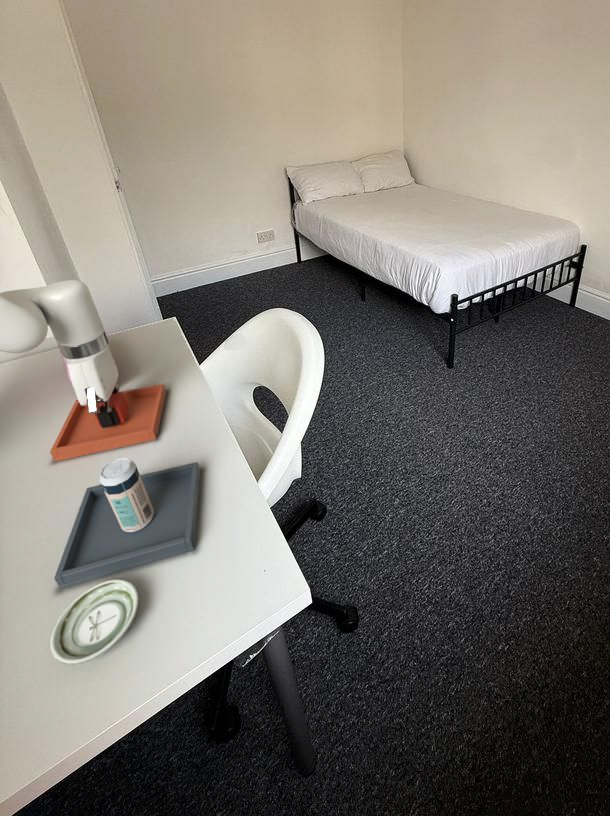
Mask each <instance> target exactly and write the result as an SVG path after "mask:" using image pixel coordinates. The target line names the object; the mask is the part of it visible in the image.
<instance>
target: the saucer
mask: <svg viewBox="0 0 610 816" xmlns="http://www.w3.org/2000/svg"><path fill="white" fill-rule="evenodd" d="M139 597H140V596H139V592H138V590H137V588H136V586H135V585H134V584H133V583H132V582H130V581H128V580H125V579H121V578H120V579H119V578H117V579H116V578H115V579H108V580H105V581H102V582H99V583H97V584H95V585H93V586H91V587H89V588H87V589H86V590H85V591H83V592H82V593H81V594H79V595H78V596H76V597H75V598H74V599H73V600H72V601H71V603H69V604H68V605H67V606H66V608H65V609H64V610H63V611H62V613H61V614H60V616H59V617H58V619H57V621H56V623H55V624H54V627H53V629H52V632H51V635H50V641H49V645H50V646H49V647H50V652H51V654H52V656H53V657H54V659H55V660H56V661H58V662H59V663H61V664H64V665H71V666H72V665H73V666H74V665H80V664H81V665H82V664H84V663H88V662H90V661H93V660H95V659H97V658H99V657H100V656H102V655H103V654H105V653H106V652H108V651H110V649H112V647H114V646H115V645H116V644H117V643H118V642H119V641H120V640H121V639H122V637H124V636H125V635H126V633H127V631H128V630H129V628H130V627H131V625H132V623H133V622H134V620H135V617H136V615H137V612H138V609H139V602H140V598H139Z"/></svg>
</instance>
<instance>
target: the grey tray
mask: <svg viewBox="0 0 610 816" xmlns="http://www.w3.org/2000/svg"><path fill="white" fill-rule="evenodd" d="M140 477H141V479H142V482H143V484H144V487H145V489H146V492H147V494H148V497H149V499H150V502H151V504H152V507H153V509H154V515H153V517H152V519H151V521H150V522H149V523H148V524H147V525H146V526H145V527H143V528H142V529H140V530H137V531H134V532H126V531H124V530H123V529H122V528H121V526H120V524H119V522H118V520H117V518H116V516H115V513H114V511H113V509H112V507H111V505H110V503H109V500H108V498H107V496H106V494H105V492H104V490H103V488H102V485H101V484H98V485H94V486H89V487H87V488H86V489H85V493H84V495H83V497H82V501H81V503H80V506H79V509H78V511H77V513H76V517H75V520H74V523H73V525H72V528H71V531H70V534H69V537H68V539H67V543H66V545H65V547H64V550H63V553H62V556H61V558H60V561H59V564H58V567H57V569H56V571H55V575H54V577H53V579H54V581H55V582H56V584H57V586H58V587H59V589H60V590H62V589H65V588H71V587H73V586H76V585H80V584H82V583H86V582H90V581H94V580H97V579H100V578H104V577H106V576H110V575H114V574H118V573H121V572H125V571H128V570H131V569H135V568H138V567H141V566H145V565H148V564H152V563H155V562H159V561H162V560H165V559H169V558H173V557H177V556H180V555H183V554H186V553H189V552H193V551H195V544H196V543H195V541H196V531H197V517H198V506H199V494H200V493H199V492H200V480H201V469H200V466H199V463H198V461H195V462H190V463H187V464H182V465H178V466H174V467H170V468H165V469H161V470H157V471H153V472H149V473H143V474H140Z"/></svg>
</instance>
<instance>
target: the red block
mask: <svg viewBox="0 0 610 816" xmlns="http://www.w3.org/2000/svg"><path fill="white" fill-rule="evenodd" d="M120 392H121V393H116V394H111V396H110V398H109V399H110V403H111V407H112V409H113V408H114V409H115V411H116V414H117V416H118V419H119V421H120V423H123V422H125V418H126V415H127V412H128V409H129V408H128V405H127V402H126V400H125V397H124V395H123V392H122V391H120ZM98 398H100V397H98ZM98 404H99V406H106V405H105V402H100V403H98ZM94 415H95V414H94ZM95 417H96V419H97V422H98V424H99V426H100V427H101V425H100V422H99V420H98V418H97V415H95Z"/></svg>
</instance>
